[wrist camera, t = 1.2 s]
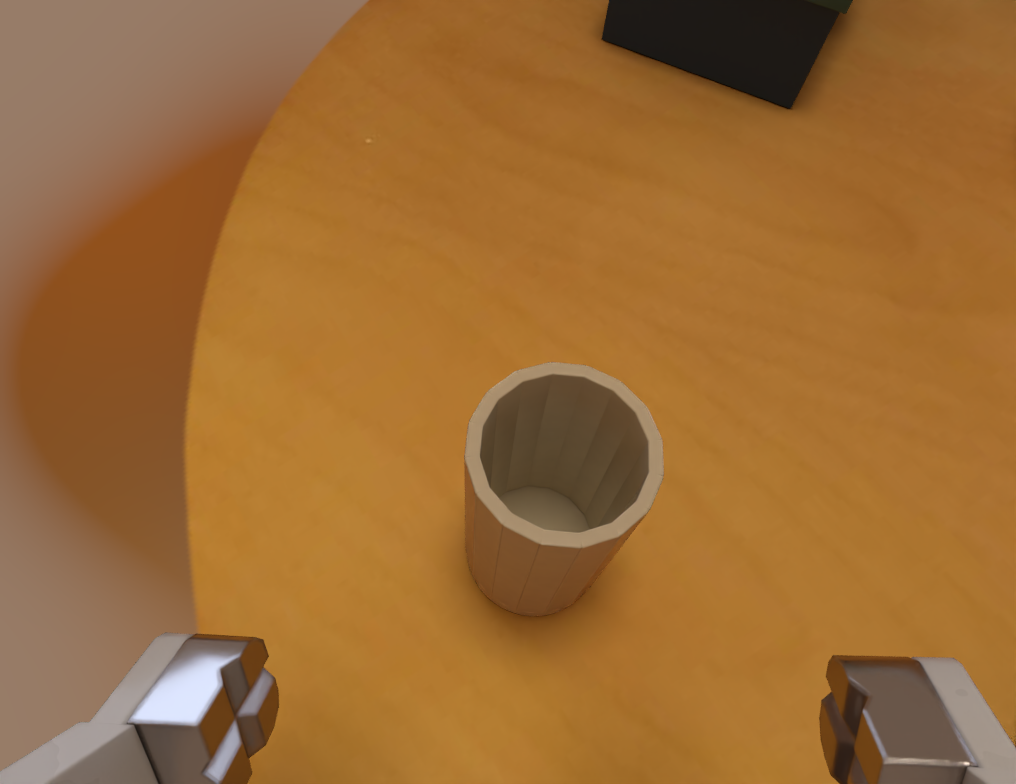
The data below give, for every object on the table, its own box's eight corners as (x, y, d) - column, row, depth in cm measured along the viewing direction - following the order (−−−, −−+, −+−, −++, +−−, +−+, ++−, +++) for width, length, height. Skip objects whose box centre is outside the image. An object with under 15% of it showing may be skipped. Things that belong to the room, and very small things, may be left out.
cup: (442, 575, 26) (428, 487, 17) (504, 463, 28) (520, 334, 19) (564, 641, 25) (618, 585, 16) (618, 520, 27) (691, 412, 18)
